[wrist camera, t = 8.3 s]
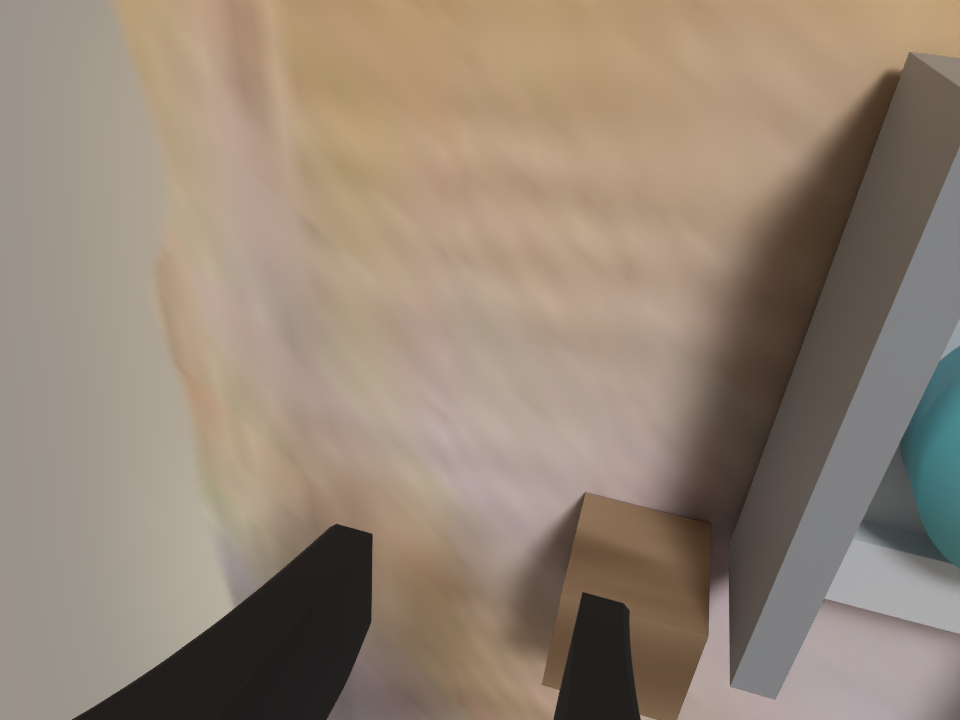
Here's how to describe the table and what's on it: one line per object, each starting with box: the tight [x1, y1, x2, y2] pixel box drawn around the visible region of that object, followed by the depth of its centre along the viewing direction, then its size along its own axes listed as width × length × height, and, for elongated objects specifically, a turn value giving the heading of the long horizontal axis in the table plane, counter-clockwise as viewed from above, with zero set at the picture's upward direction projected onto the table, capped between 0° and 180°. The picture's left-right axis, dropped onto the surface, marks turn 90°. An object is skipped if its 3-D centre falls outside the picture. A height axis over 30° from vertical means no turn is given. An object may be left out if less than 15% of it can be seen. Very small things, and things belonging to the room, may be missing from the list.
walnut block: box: [542, 493, 711, 720], centre depth 21 cm, size 4×4×4 cm
